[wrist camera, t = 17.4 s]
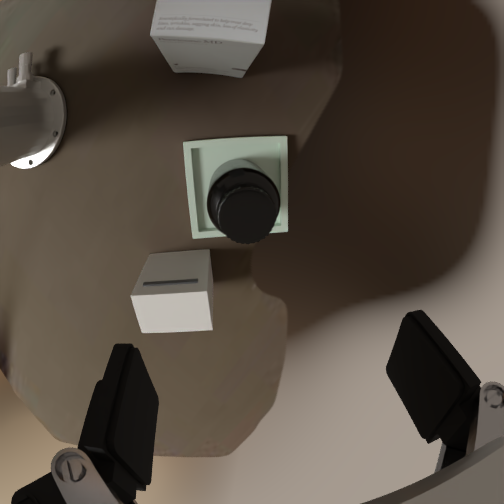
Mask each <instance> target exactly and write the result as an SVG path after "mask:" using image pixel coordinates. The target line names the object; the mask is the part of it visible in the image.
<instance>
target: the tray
mask: <svg viewBox="0 0 504 504" xmlns="http://www.w3.org/2000/svg"><path fill="white" fill-rule="evenodd" d="M183 147H184V160H185V171H186V182H187V192H188V202H189V211H190V220H191V228H192V236H193V239H196V238H208V237H221V236H226V235H225V234H223V233H221V232H220V231H219V230H218V229H217V228H216V227H215V226H214V225H213V223H212V222H211V220H210V218H209V215H208V212H207V196H208V190H209V185H210V180H211V177H212V175H213V173H214V172H215V170H216V169H217V168H218V167H219V166H220V165H222V164H223V163H225V162H227V161H229V160H233V159H245V160H249V161H251V162H253V163H255V164H257V165H258V166H259V167H260V168H261V169H262V170H263V171H264V172H265V173H266V174H267V175H268V176H269V177H270V178H271V179H272V181H273V182H274V183H275V185H276V187H277V189H278V192H279V195H280V211H279V214H278V217H277V219H276V222H275V226H274V227H273V228H272V231H271V232H270V233H275V232H288V149H287V136H252V137H232V138H217V139H205V140H194V141H185V142H183Z"/></svg>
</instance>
